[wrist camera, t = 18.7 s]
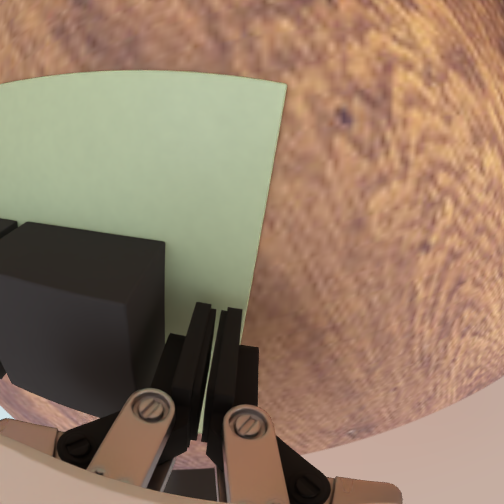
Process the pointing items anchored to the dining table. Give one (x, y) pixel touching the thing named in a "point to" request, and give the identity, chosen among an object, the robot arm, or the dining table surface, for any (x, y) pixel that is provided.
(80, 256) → the black box
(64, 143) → the board
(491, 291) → the dining table surface
